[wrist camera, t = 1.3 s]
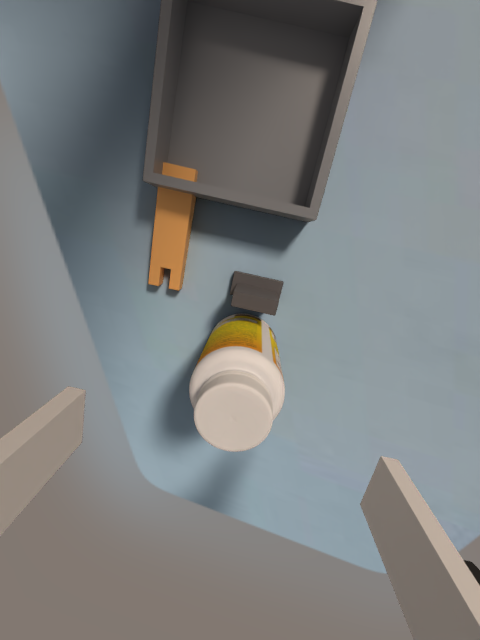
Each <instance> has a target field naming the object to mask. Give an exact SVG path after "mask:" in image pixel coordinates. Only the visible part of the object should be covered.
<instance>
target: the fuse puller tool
mask: <svg viewBox="0 0 480 640" xmlns="http://www.w3.org/2000/svg"><path fill="white" fill-rule="evenodd" d="M162 175H167V176H171V177H176V178H180V179H184V180H189V181H193V182H197V175H198V171H197V170H196V169H192V168H187V167H183V166H179V165H174V164H170V163H165V162H163V170H162ZM195 201H196V197H195V196H194V195H192V194H188V193H184V192H179V191H175V190H170V189H166V188H162V187H158V192H157V202H156V212H155V222H154V232H153V242H152V252H151V262H150V272H149V282H148V284H151V285H156V286H159V285H161V284H162V283H163V276H164V269H165V268H167V269H171V274H170V282H169V289H174V290H178V291H179V290H180V289H181V288H182V284H183V278H184V272H185V265H186V259H187V252H188V246H189V240H190V233H191V227H192V220H193V214H194V208H195Z"/></svg>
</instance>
